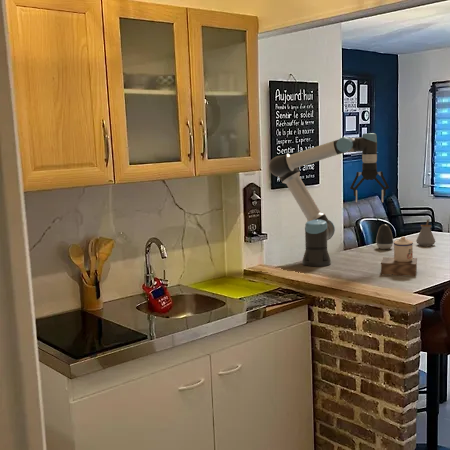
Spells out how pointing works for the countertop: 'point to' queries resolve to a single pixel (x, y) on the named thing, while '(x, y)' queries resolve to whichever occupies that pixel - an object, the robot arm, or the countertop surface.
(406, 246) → the teacup with lid
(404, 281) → the countertop surface
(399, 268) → the walnut box
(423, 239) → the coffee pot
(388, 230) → the brown egg-shaped piece
